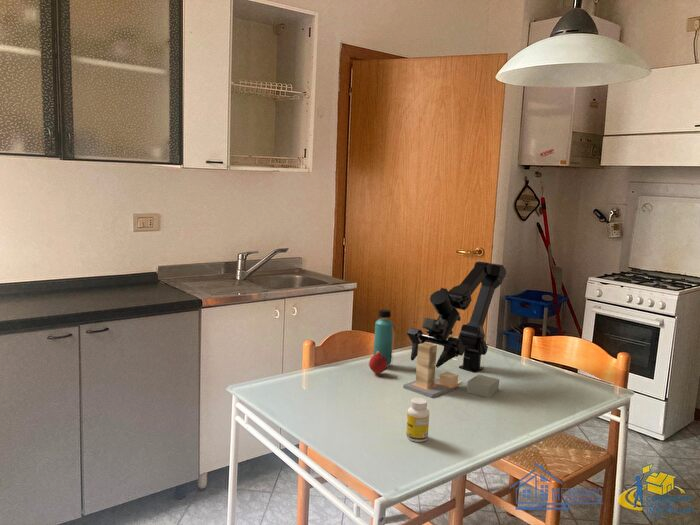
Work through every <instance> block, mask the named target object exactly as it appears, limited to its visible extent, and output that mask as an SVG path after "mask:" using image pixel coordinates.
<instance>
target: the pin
mask: <svg viewBox="0 0 700 525" xmlns="http://www.w3.org/2000/svg"><path fill="white" fill-rule="evenodd" d="M437 350H438V344H434V343H430V342H426V341H425V342H424V343H421V344H418V355H417V356H416V371H415V381H416V384H415V385H418V386H421V387H424V388H429V387H431V386H433V385H434V379H435V378H436V377H435V376H436V364H437Z"/></svg>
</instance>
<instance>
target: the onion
mask: <svg viewBox="0 0 700 525" xmlns="http://www.w3.org/2000/svg"><path fill="white" fill-rule="evenodd" d="M368 366H369V368H370V370H371V371H372V372H373V373H374V374H375V375H377V376H378V375H380V374H382V373H383V372H384V371H386V369H387V366H388V365H387V361H386V359H385V357H384V356H383V355H382V354H380V352H379V351H377V353H376V354H375V355H374V354H373V355H372V356H371V357H370V359H369V362H368Z"/></svg>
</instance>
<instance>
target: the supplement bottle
mask: <svg viewBox="0 0 700 525" xmlns="http://www.w3.org/2000/svg"><path fill="white" fill-rule="evenodd" d="M410 402H411V403H410V407H409V408H408V409H407V418H406V419H407V421H406V435H405V436H406V438H407V440H409V441H411V442H414V441H415V443H424V442H425V441H427V440H428V437H429V427H430V426H429V424H430V410H429V409H428V408H427V407H428V401H427V400H426V398H421V397H413V398H411V400H410Z"/></svg>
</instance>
